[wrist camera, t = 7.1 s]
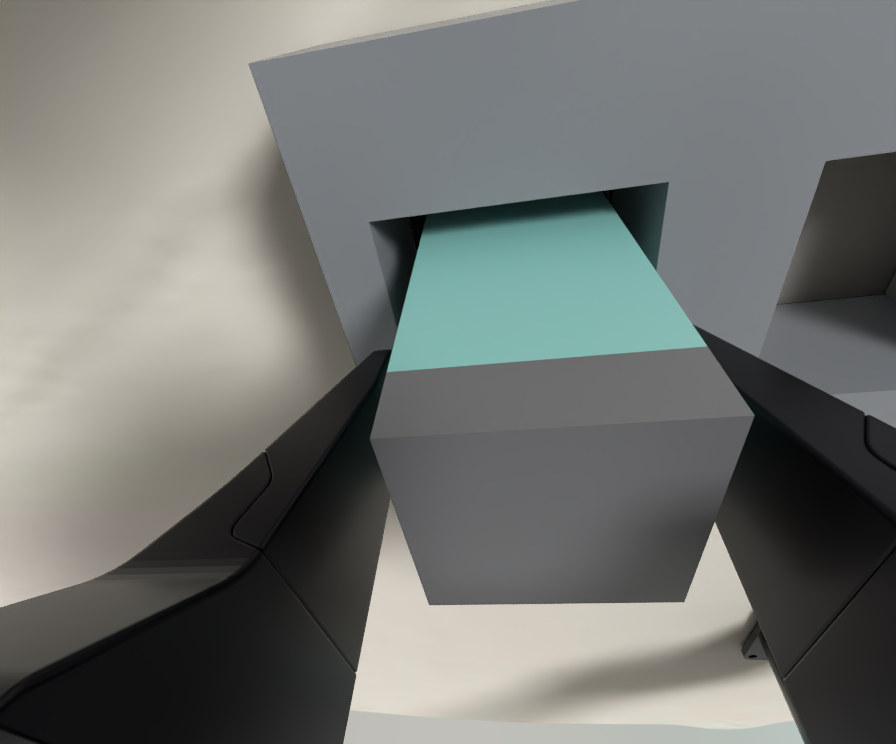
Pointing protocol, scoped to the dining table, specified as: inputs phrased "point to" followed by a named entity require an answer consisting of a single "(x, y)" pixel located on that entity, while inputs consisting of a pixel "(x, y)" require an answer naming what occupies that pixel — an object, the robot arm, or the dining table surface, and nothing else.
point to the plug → (551, 413)
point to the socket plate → (606, 154)
